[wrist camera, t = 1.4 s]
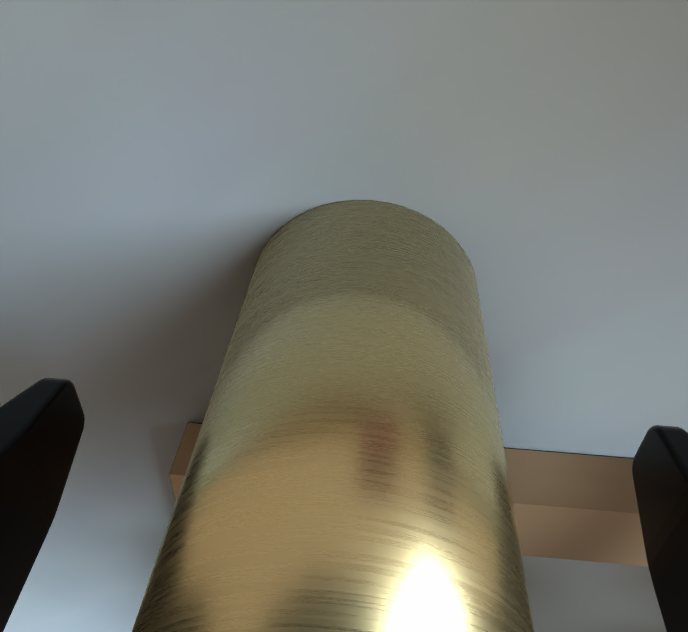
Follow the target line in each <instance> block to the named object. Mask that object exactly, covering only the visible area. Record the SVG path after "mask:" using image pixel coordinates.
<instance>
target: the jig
mask: <svg viewBox="0 0 688 632" xmlns="http://www.w3.org/2000/svg"><path fill="white" fill-rule="evenodd" d="M201 426H202V424H196V423H188V424H187V427H186V429H185V432H184V435H183V438H182V440H181V443H180V446H179V449H178V451H177V454H176V457H175V460H174V462H173V465H172V468H171V471H170V473H169V476H170V480H171V484H172V489H173V493H174V497H175V501H176V500H177V497H178V494H179V491H180V488H181V485H182V483H183V480H184V477H185V474H186V471H187V468H188V465H189V462H190V459H191V456H192V453H193V450H194V447H195V444H196V441H197V438H198V435H199V432H200V429H201ZM504 452H505V458H506V464H507V470H508V476H509V483H510V489H511V495H512V501H513V507H514V513H515V519H516V525H517V531H518V537H519V543H520V549H521V555H522V561H523V567H524V573H525V579H526V585H527V591H528V597H529V603H530V610H531V616H532V622H533V628H534V632H666V628H665V625H664V621H663V618H662V614H661V611H660V607H659V604H658V600H657V597H656V593H655V590H654V586H653V583H652V579H651V575H650V571H649V568H648V563H647V558H646V552H645V547H644V541H643V535H642V529H641V523H640V517H639V511H638V505H637V499H636V493H635V487H634V481H633V475H632V463H633V459H631V458H618V457H606V456H593V455H581V454H568V453H556V452H544V451H531V450H519V449H506V448H504Z"/></svg>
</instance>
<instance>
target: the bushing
mask: <svg viewBox="0 0 688 632" xmlns="http://www.w3.org/2000/svg"><path fill="white" fill-rule="evenodd" d="M132 632H534V628H533V622H532V616H531V610H530V603H529V597H528V591H527V585H526V579H525V573H524V567H523V561H522V555H521V549H520V543H519V537H518V531H517V525H516V519H515V513H514V507H513V501H512V495H511V489H510V483H509V476H508V470H507V464H506V458H505V452H504V446H503V440H502V434H501V428H500V422H499V416H498V410H497V404H496V398H495V392H494V386H493V380H492V374H491V368H490V362H489V356H488V350H487V343H486V337H485V331H484V325H483V319H482V313H481V307H480V301H479V295H478V289H477V283H476V279H475V274H474V271H473V268H472V265H471V263H470V260H469V259H468V257H467V255H466V253H465V252H464V250H463V248H462V247H461V246H460V245H459V243H458V242H457V241H456V240H455V238H454V237H453V236H451V235H450V234H449V233H448V232H447V231H446V230H445V229H444V228H443V227H441V226H440V225H438V224H437V223H436V222H434V221H433V220H431V219H430V218H428V217H426V216H424V215H422V214H420V213H418V212H416V211H413V210H411V209H408V208H406V207H403V206H399V205H395V204H391V203H387V202H380V201H372V200H351V201H342V202H335V203H331V204H327V205H323V206H320V207H317V208H314V209H312V210H309V211H307V212H305V213H303V214H301V215H299V216H297V217H295V218H294V219H292V220H291V221H290V222H288V223H287V224H285V225H284V226H283V227H282V228H281V229H280V230H279V231H277V232H276V233H275V234H274V235H273V236H272V238H271V239H270V240H269V242H268V243H267V244H266V246H265V247H264V249H263V251H262V253H261V254H260V256H259V258H258V261H257V264H256V267H255V270H254V273H253V276H252V279H251V282H250V285H249V288H248V291H247V294H246V296H245V299H244V302H243V305H242V308H241V311H240V314H239V317H238V320H237V323H236V326H235V329H234V332H233V335H232V338H231V341H230V344H229V347H228V350H227V353H226V356H225V358H224V361H223V364H222V367H221V370H220V373H219V376H218V379H217V382H216V385H215V388H214V391H213V394H212V397H211V400H210V403H209V406H208V409H207V412H206V415H205V418H204V421H203V423H202V426H201V429H200V432H199V435H198V438H197V441H196V444H195V447H194V450H193V453H192V456H191V459H190V462H189V465H188V468H187V471H186V474H185V477H184V480H183V483H182V485H181V488H180V491H179V494H178V497H177V500H176V503H175V506H174V509H173V512H172V515H171V518H170V521H169V524H168V527H167V530H166V533H165V536H164V539H163V542H162V545H161V548H160V550H159V553H158V556H157V559H156V562H155V565H154V568H153V571H152V574H151V577H150V580H149V583H148V586H147V589H146V592H145V595H144V598H143V601H142V604H141V607H140V610H139V612H138V615H137V618H136V621H135V624H134V627H133V630H132Z"/></svg>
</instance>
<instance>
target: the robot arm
mask: <svg viewBox="0 0 688 632" xmlns="http://www.w3.org/2000/svg"><path fill="white" fill-rule="evenodd" d="M83 428H84V413H83V410H82V407H81V404H80V401H79V398H78V395H77V392H76V390H75V387H74V385H73V383H72V382H71V381H70V380H67V379H55V378H45V379H42V380H40V381H38V382H37V383H35V384H34V385H32V386H31V387H29V388H28V389H26V390H25V391H23V392H22V393H20V394H19V395H17V396H16V397H14V398H13V399H12V400H10V401H9V402H7V403H6V404H4V405H3V406H1V407H0V632H3V631H4V628H5V626H6V624H7V622H8V619H9V617H10V615H11V613H12V611H13V608H14V606H15V604H16V602H17V599H18V597H19V595H20V593H21V591H22V588H23V586H24V584H25V582H26V580H27V577H28V575H29V573H30V571H31V568H32V566H33V564H34V562H35V560H36V557H37V555H38V553H39V551H40V549H41V546H42V544H43V542H44V540H45V537H46V535H47V533H48V531H49V528H50V526H51V524H52V521H53V519H54V517H55V514H56V511H57V508H58V505H59V503H60V500H61V497H62V493H63V490H64V487H65V484H66V481H67V478H68V475H69V472H70V469H71V466H72V463H73V459H74V456H75V453H76V450H77V447H78V444H79V441H80V438H81V435H82V432H83ZM632 475H633V481H634V487H635V493H636V499H637V505H638V511H639V517H640V523H641V529H642V535H643V541H644V547H645V552H646V558H647V563H648V568H649V571H650V575H651V579H652V583H653V586H654V590H655V593H656V597H657V600H658V604H659V607H660V611H661V614H662V618H663V621H664V625H665V628H666V632H688V433H687V432H686V431H685V430H683V429H682V428H679V427H672V426H659V425H656V426H652V427H651V428H650V429H649V430H648V432H647V433H646V435H645V437H644V439H643V441H642V443H641V445H640V447H639V449H638V451H637V453H636V455H635V457H634V459H633V463H632Z"/></svg>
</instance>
